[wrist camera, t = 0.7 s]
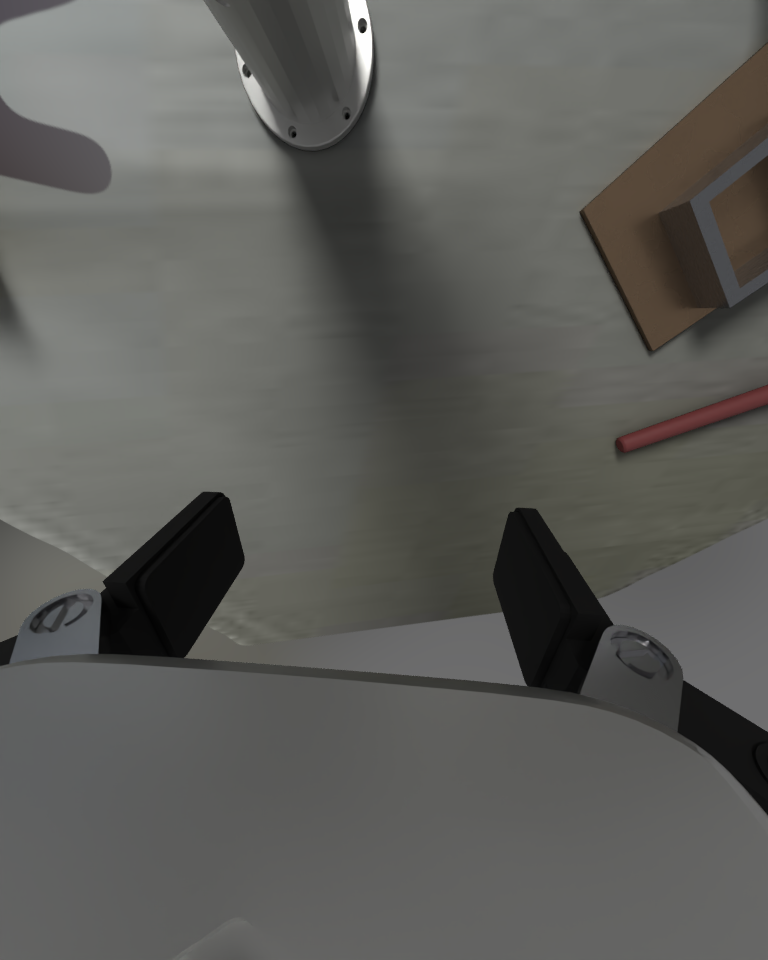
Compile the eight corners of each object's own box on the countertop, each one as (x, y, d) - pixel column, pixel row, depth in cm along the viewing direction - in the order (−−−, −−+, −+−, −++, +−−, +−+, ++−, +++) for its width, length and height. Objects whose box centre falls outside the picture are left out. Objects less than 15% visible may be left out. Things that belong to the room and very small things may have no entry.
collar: (579, 211, 33) (605, 196, 29) (848, -31, 25) (938, -102, 21) (648, 350, 38) (678, 355, 34) (885, 188, 30) (962, 169, 26)
